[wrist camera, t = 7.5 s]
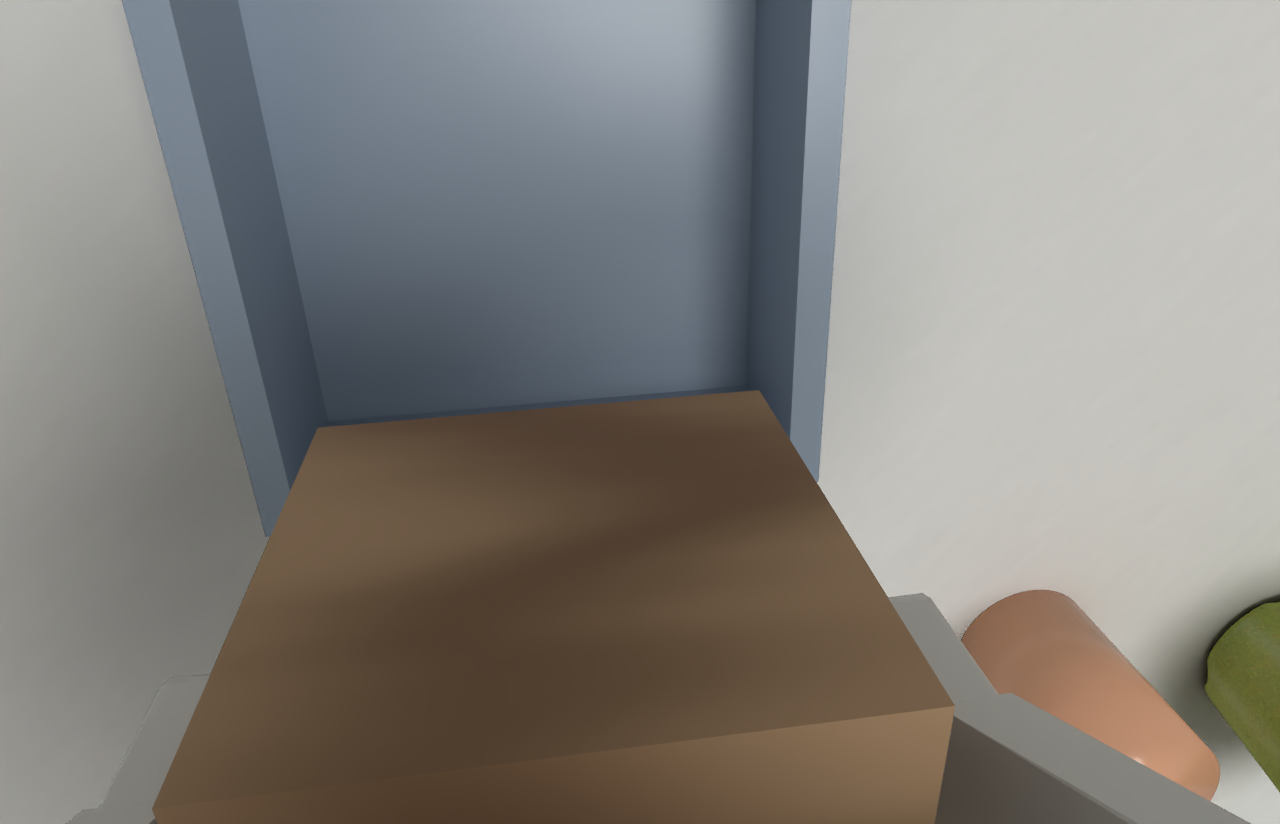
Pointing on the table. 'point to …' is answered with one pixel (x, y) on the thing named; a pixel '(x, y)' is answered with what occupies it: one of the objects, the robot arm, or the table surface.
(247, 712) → the walnut cube
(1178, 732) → the terracotta cylinder
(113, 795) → the robot arm
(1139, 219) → the table surface
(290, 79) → the tote
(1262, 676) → the plant pot
